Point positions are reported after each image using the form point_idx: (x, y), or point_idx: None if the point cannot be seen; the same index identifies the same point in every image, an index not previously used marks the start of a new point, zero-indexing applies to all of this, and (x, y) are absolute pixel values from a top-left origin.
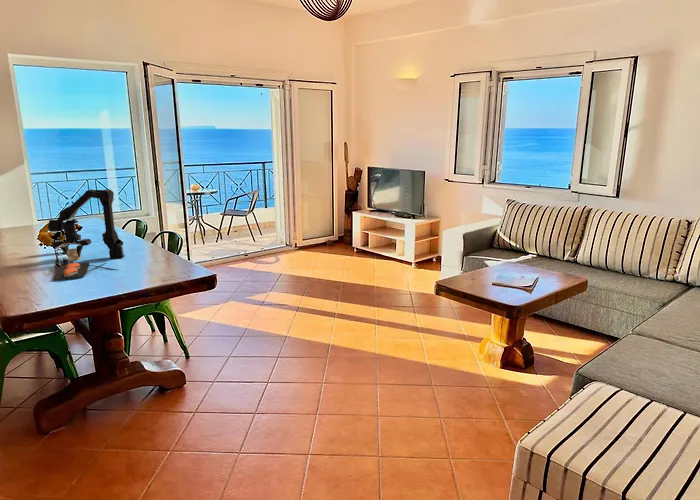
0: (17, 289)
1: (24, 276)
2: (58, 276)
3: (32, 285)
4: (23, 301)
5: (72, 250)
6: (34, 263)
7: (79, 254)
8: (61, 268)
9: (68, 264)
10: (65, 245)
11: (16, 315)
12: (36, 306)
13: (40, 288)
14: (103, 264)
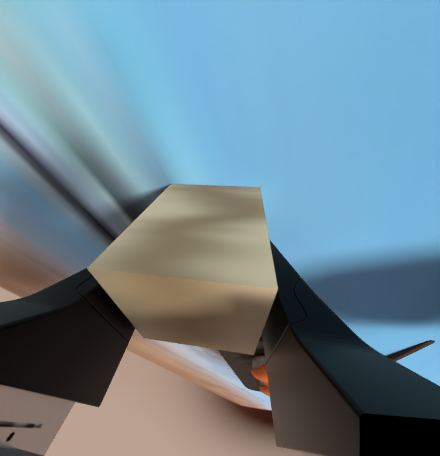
0: (200, 380)
1: (152, 348)
2: (250, 379)
3: (215, 379)
4: (237, 398)
5: (209, 346)
6: (7, 242)
7: None
8: (230, 353)
9: (259, 378)
10: (42, 428)
11: (249, 407)
12: (261, 406)
13: (238, 387)
14: (403, 355)
